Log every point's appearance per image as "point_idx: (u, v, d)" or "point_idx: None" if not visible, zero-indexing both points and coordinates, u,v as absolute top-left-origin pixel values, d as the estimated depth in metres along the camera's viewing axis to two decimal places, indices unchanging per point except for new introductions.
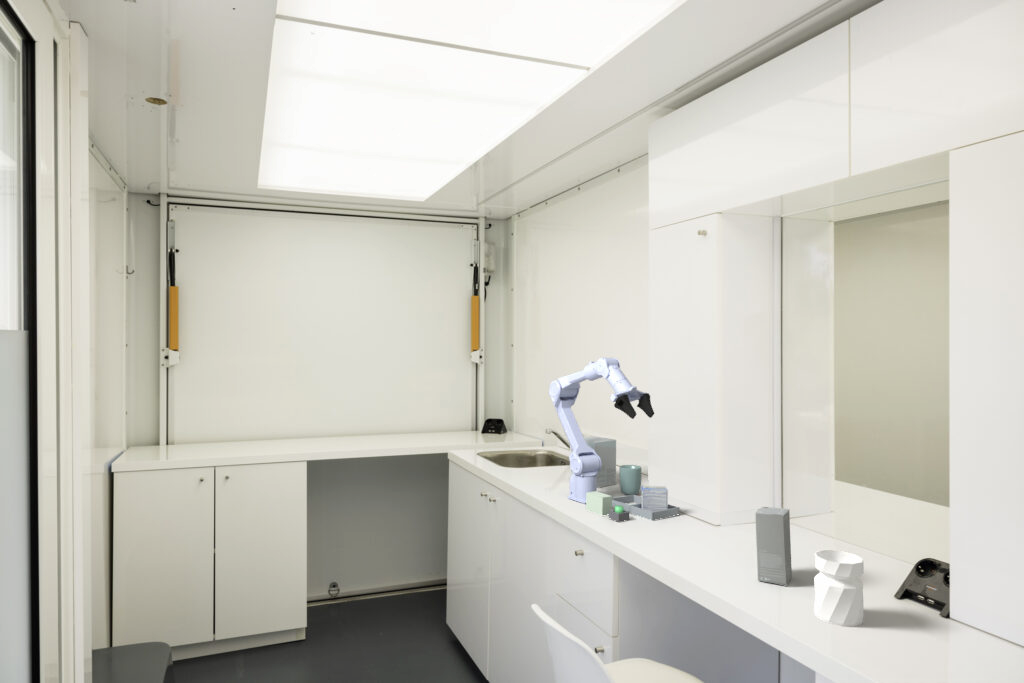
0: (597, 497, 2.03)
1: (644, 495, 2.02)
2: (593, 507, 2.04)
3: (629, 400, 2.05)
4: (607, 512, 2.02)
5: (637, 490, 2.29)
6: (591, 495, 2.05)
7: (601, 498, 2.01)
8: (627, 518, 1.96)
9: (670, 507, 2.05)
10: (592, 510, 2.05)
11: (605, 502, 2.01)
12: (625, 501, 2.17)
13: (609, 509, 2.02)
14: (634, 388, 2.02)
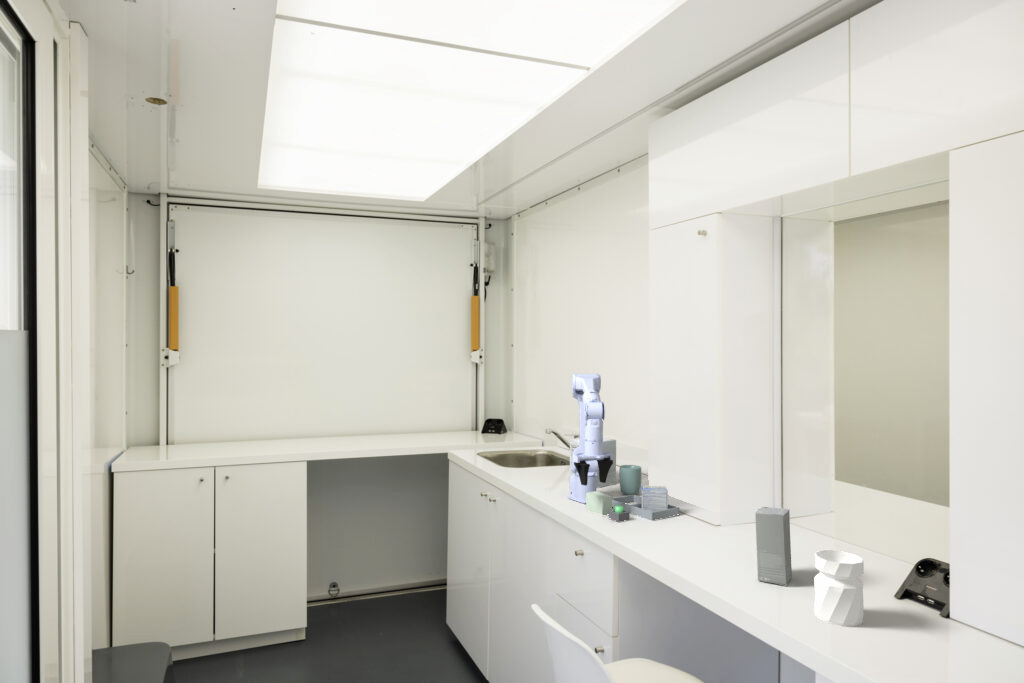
0: (597, 497, 2.03)
1: (644, 495, 2.02)
2: (593, 507, 2.04)
3: None
4: (607, 512, 2.02)
5: (637, 490, 2.29)
6: (591, 495, 2.05)
7: (601, 498, 2.01)
8: (627, 518, 1.96)
9: (670, 507, 2.05)
10: (592, 510, 2.05)
11: (605, 502, 2.01)
12: (625, 501, 2.17)
13: (609, 509, 2.02)
14: (601, 457, 1.97)
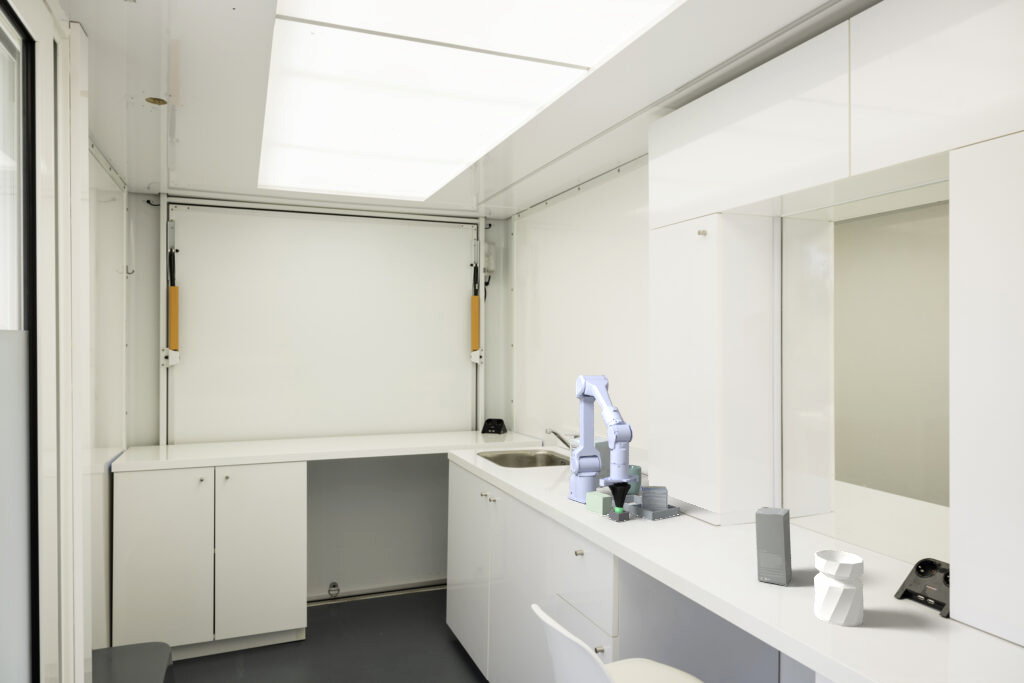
0: (597, 497, 2.03)
1: (644, 495, 2.02)
2: (593, 507, 2.04)
3: None
4: (607, 512, 2.02)
5: (637, 490, 2.29)
6: (591, 495, 2.05)
7: (601, 498, 2.01)
8: (627, 518, 1.96)
9: (670, 507, 2.05)
10: (592, 510, 2.05)
11: (605, 502, 2.01)
12: (625, 501, 2.17)
13: (609, 509, 2.02)
14: None
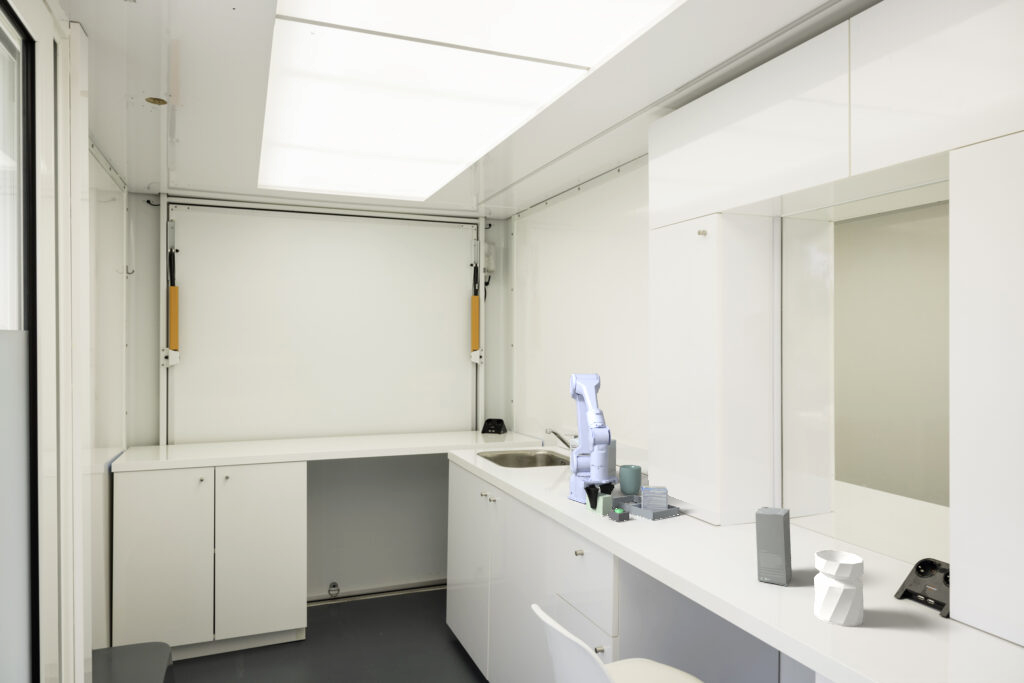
0: (597, 497, 2.03)
1: (644, 495, 2.02)
2: None
3: None
4: (607, 512, 2.02)
5: (637, 490, 2.29)
6: None
7: (601, 498, 2.01)
8: (627, 518, 1.96)
9: (670, 507, 2.05)
10: (592, 510, 2.05)
11: (605, 501, 2.01)
12: (625, 501, 2.17)
13: (609, 509, 2.02)
14: (606, 482, 2.02)
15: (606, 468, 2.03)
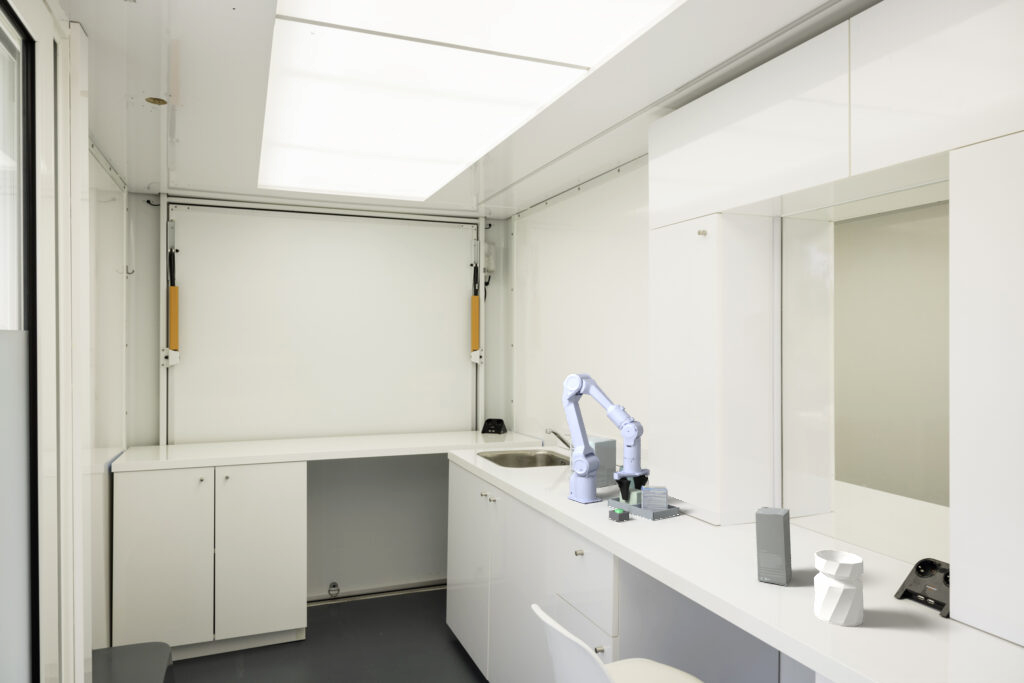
0: (631, 492, 2.10)
1: (644, 495, 2.02)
2: (627, 502, 2.11)
3: None
4: None
5: None
6: None
7: (635, 493, 2.08)
8: (627, 518, 1.96)
9: (670, 507, 2.05)
10: None
11: (639, 497, 2.08)
12: None
13: None
14: (639, 475, 2.09)
15: (639, 461, 2.11)
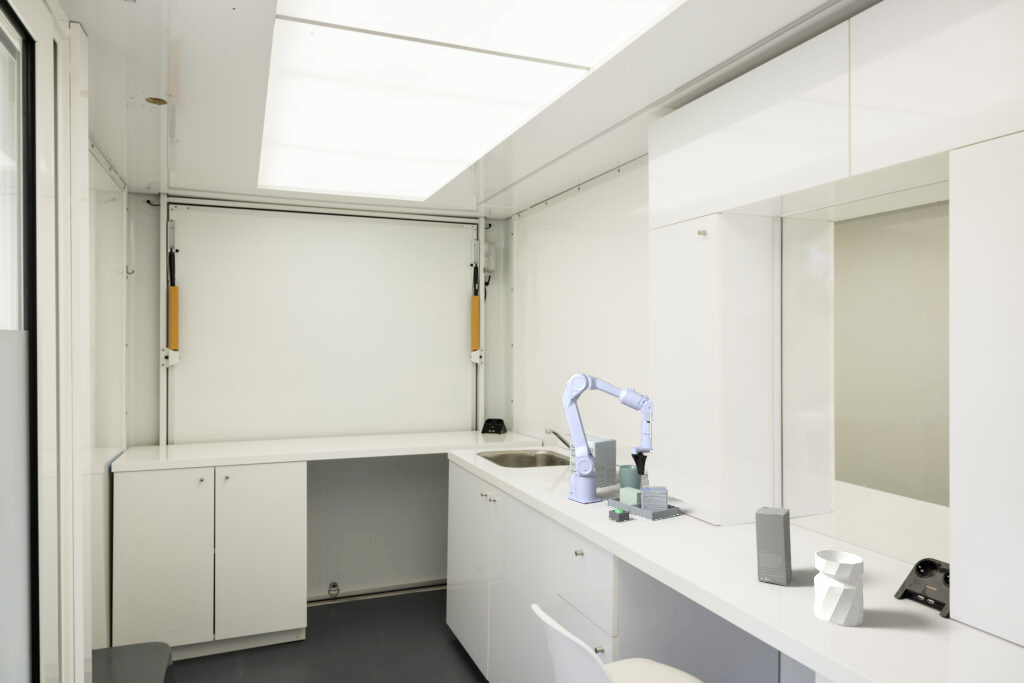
0: (631, 492, 2.10)
1: (644, 495, 2.02)
2: (627, 502, 2.11)
3: None
4: None
5: None
6: (625, 490, 2.12)
7: (635, 493, 2.08)
8: (627, 518, 1.96)
9: (670, 507, 2.05)
10: None
11: (639, 497, 2.08)
12: None
13: None
14: None
15: None
